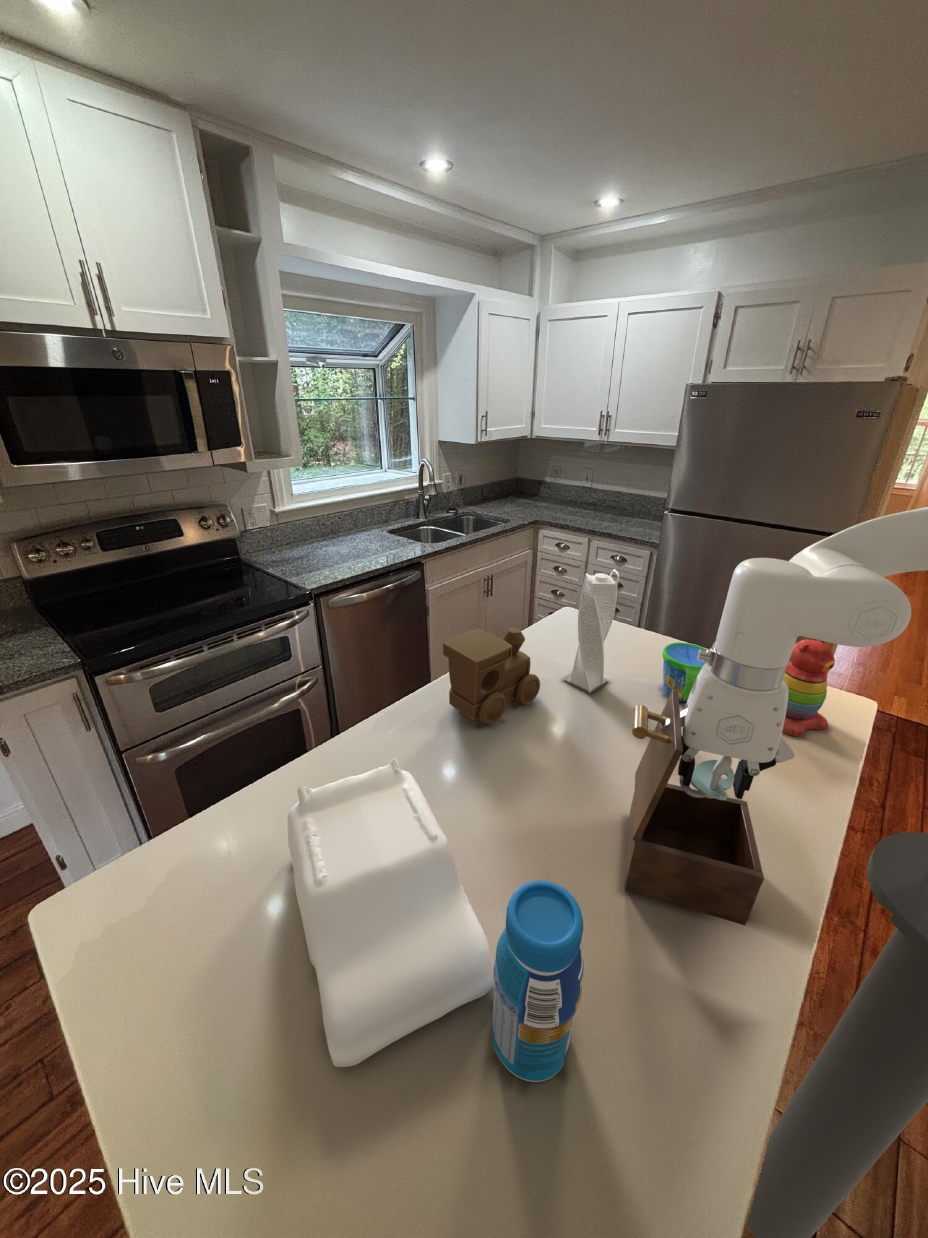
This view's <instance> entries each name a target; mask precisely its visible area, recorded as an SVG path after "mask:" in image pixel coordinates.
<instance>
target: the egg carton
mask: <svg viewBox="0 0 928 1238" xmlns="http://www.w3.org/2000/svg"><path fill="white" fill-rule="evenodd" d="M297 796H298V802H296V803H295V804H294V805H293V806H292V807H291V808H290V810H289V811H288V815H287V843H288V844H287V845H288V849H289V853H290V859H291V864H292V870H293V877H294V886H295V888H294V889H295V895H296V900H297V904H298V907H299V912H300V913H299V914H300V917H301V923H302V927H303V932H304V936H305V937H304V938H305V941H306V946H307V951H308V952H307V953H308V957H309V960H310V963H311V965H312V966H313V968H314V969H315V973H316V978H317V985H318V990H319V996H320V1004H321V1012H322V1022H323V1023H322V1025H323V1029H324V1033H325V1038H326V1044H327V1048H328V1053H329V1056H330V1059H331V1062H332V1064H333V1066H335V1067H337V1068H347V1067H353V1066H356V1065H358V1064H360V1063H362V1062H363V1061H365V1060H366V1059H368V1058H370V1057H371V1056H373V1055H374V1054H376V1053H378V1052H379V1051H381V1050H383V1049H384V1048H386V1047H388V1046H390V1045H391V1044H393V1043H395V1042H396V1041H398V1040H400V1039H402V1038H404V1037H406V1036H407V1035H409V1034H411V1033H413V1032H414V1031H416V1030H418V1029H421V1028H423V1027H424V1026H426V1025H428V1024H430V1023H432V1022H434V1021H436V1020H438V1019H441V1018H442V1017H444V1016H445V1015H447V1014H448V1013H450V1012H452V1011H454V1010H455V1009H457V1008H459V1007H461V1006H463V1005H465V1004H467V1003H470V1002H473V1001H475V1000H477V999H479V998H480V999H481V998H482V997H483V996H485V995H487V994H488V993H489V992H490V991H491V990H492V989H493V988H494V982H493V969H494V963H495V960H494V958H493V956H492V951H491V948H490V943H489V940H488V938H487V935H486V933H485V931H484V929H483V927H482V925H481V923H480V921H479V919H478V917H477V915H476V913H475V911H474V909H473V907H472V905H471V902H470V900H469V899H468V897H467V894H466V892H465V890H464V887H463V884H462V882H461V878H460V875H459V872H458V869H457V865H456V861H455V858H454V854H453V851H452V849H451V845H450V843H449V840H448V839H447V837H446V835H445V833H444V831H443V830H442V828H441V826H440V824H439V822H438V821H437V819H436V817H435V815H434V813H433V811H432V809H431V807H430V805H429V803H428V801H427V799H426V797H425V796H424V794H423V792H422V790H421V788H420V786H419V784H418V783H417V780H416V779H415V778H414V776H413V775H412V774H411V773H410V771H407V770H403V769H402V768H401V766H400V765H399V761H398V760H397V759H396V757H393V758H392V759H391V761H390V763H388V764H387V765H385V766H377V767H376V768H375V769H372V770H369V771H367V772H364V773H361V774H358V775H353V776H352V775H350V776H348V777H345V778H341V779H338V780H337V781H335V782H334V781H333V782H329V783H327V784H325V785H321V786H319V787H316V788H308V787H306V786H305V785H298V788H297Z"/></svg>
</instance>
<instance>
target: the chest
mask: <svg viewBox="0 0 928 1238" xmlns="http://www.w3.org/2000/svg"><path fill="white" fill-rule="evenodd" d="M692 789H693V788H692ZM693 790H695V791H699V790H697V789H695V788H694V789H693ZM634 793H635V789H634V791H633V796H632V800H631V805H630V809H629V815H628V820H627V836H626V837H627V838H626V839H627V840H626V853H625V854H626V855H625V871H624V872H625V875H624V891H628V892H630V893H633V894H637V895H640V896H643V897H647V898H651V899H654V900H656V901H657V900H658V901H660V902H664V903H667V904H671V905H674V906H677V907H681V908H684V909H688V910H692V911H694V912H698V913H701V914H705V915H708V916H712V917H715V918H718V919H722V920H724V921H729V922H732V923H735V924H739V925H741V926H746V925H747V922H748V920H749V917H750V914H751V913H752V909H753V907H754V905H755V903H756V899H757V897H758V896H759V892H760V890H761V887H762V884H763V882H764V879H765V876H764V872H763V868H762V864H761V859H760V854H759V849H758V846H757V842H756V836H755V831H754V828H753V823H752V819H751V815H750V810H749V804H748V802H747V801H746V800H743V799H742V800H741V799H737V798H733V797H727V799H726V800H719V799H716V798H707V797H702V798H698V797H693V796H690V795H689V794H687V793H686V792H685V791H684V790H683V789H682V787H681V785H677V784H673V783H669V782H668V783H667V785H666V787H665V789H664V791H663V793H662V795H661V797H660V799H659V801H658V803H657V806H656V808H655V810H654V812H653V814H652V816H651V818H650V820H649V822H648V824H647V826H646V828H645V830H644V832H643V834H642V836H641V838H640V840H639V842H636V841H634V840H632V837H633V815H634Z"/></svg>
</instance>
